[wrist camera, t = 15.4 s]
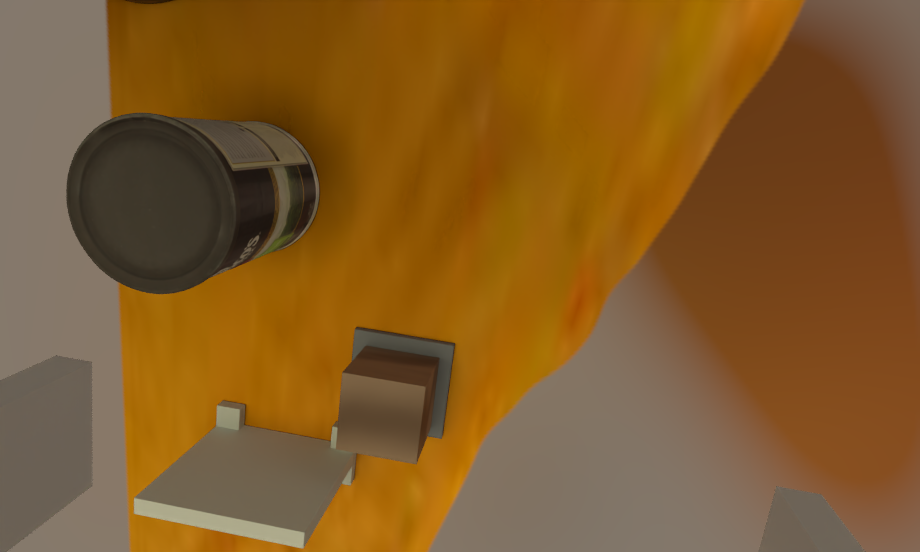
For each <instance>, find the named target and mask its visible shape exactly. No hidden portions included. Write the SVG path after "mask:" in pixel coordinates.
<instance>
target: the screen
mask: <svg viewBox="0 0 920 552" xmlns="http://www.w3.org/2000/svg"><path fill="white" fill-rule="evenodd" d="M244 420H245V404H239V403H234V402H228V401H222V402H221V403H219V404H218V405H217V420H216V427H215V428H213V429H212V430H211V431H210V432H209V433H208V434H207V435H205V436H204V437H203V438H202V439H201V440H200V441H199V442H197V443H196V444H195V445H194V446H193V447H192V448H191V449H189V450H188V451H187V452H186V453H185V454H184V455H183V456H182V457H180V458H179V459H178V460H177V461H176V462H175V463H174V464H172V465H171V466H170V467H169V468H168V469H167V470H166V471H164V472H163V473H162V474H161V475H160V476H159V477H158V478H156V479H155V480H154V481H153V482H152V483H151V484H150V485H148V486H147V487H146V488H145V489H144V490H143V491H142V492H140V493H139V494H138V495H137V496H136V497H135V498H134V514H138V515H143V516H148V517H153V518H158V519H162V520H167V521H172V522H177V523H182V524H187V525H192V526H196V527H201V528H206V529H211V530H216V531H221V532H226V533H230V534H235V535H240V536H245V537H250V538H255V539H260V540H264V541H269V542H274V543H279V544H284V545H289V546H294V547H298V548H304V546H305V545H306V543H307V541H308V540H309V538H310V536H311V535H312V533H313V531H314V529H315V528H316V526H317V524H318V523H319V521H320V519H321V518H322V516H323V514H324V512H325V511H326V509H327V507H328V506H329V504H330V502H331V501H332V499H333V497H334V496H335V494H336V492H337V490H338V489H339V487H340V485H341V484H346V485H351V484H352V482H353V480H354V474H355V464H356V454H357V453H353V452H347V451H342V450H337V449H336V440H337V429H338V422H337V421H336V422H335V424H334V425H333V426H332V436H331V441H327V440H321V439H316V438H311V437H305V436H300V435H295V434H289V433H284V432H279V431H273V430H268V429H263V428H257V427H252V426H247V425H244Z"/></svg>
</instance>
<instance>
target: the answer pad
mask: <svg viewBox="0 0 920 552" xmlns="http://www.w3.org/2000/svg"><path fill="white" fill-rule="evenodd" d="M365 346H372V347H378V348H384V349H390V350H396V351H402V352H408V353H414V354H420V355H426V356H432V357H438V358H440V359H439V367H438V375H437V383H436V391H435V399H434V407H433V415H432V423H431V428H430V431H429V433H428V436H429V437H435V438H440V439H441V438H442V435H443V428H444V420H445V413H446V406H447V398H448V391H449V383H450V376H451V368H452V361H453V354H454V346H455V343H449V342H443V341H437V340H431V339H425V338H419V337H413V336H407V335H401V334H395V333H389V332H383V331H377V330H371V329H365V328H359V327H357V328H356V329H355V334H354V344H353V354H352V361H353V360H354V359H355V357H356V356H357V355H358V354H359V353H360V352H361V350H362V349H363V348H364V347H365Z"/></svg>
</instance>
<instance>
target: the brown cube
mask: <svg viewBox="0 0 920 552" xmlns="http://www.w3.org/2000/svg"><path fill="white" fill-rule="evenodd" d="M439 359H440V358H438V357H432V356H426V355H420V354H414V353H408V352H402V351H396V350H390V349H384V348H378V347H372V346H365V347H364V348H363V349H362V350H361V352H360V353H359V354H358V355H357V356H356V357H355V359H354V360H353V361H352V362H351V363H350V364H349V366H348V367H347V368H346V369H345V370H344V371H343V372H342V383H341V395H340V406H339V417H338V429H337V440H336V449H337V450H342V451H347V452H353V453H358V454H364V455H369V456H375V457H380V458H385V459H391V460H396V461H402V462H407V463H412V464H417V461H418V459H419V456H420V454H421V451H422V448H423V446H424V443H425V441H426V438H427V436H428V433H429V431H430V428H431V423H432V415H433V407H434V399H435V391H436V383H437V375H438V367H439Z"/></svg>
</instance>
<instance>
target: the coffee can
mask: <svg viewBox="0 0 920 552" xmlns="http://www.w3.org/2000/svg"><path fill="white" fill-rule="evenodd" d="M318 203H319V182H318V177H317V173H316V169H315V167H314V164H313V162H312V160H311V158H310V156H309V154H308V153H307V151H306V150H305V149H304V147H303V146H302V145H301V144H300V143H299V142H298V141H297V140H296V139H295V138H294V137H293V136H292V135H290V134H289V133H287V132H286V131H284V130H283V129H281V128H279V127H277V126H275V125H272V124H268V123H263V122H256V121H247V122H237V121H220V120H204V119H190V118H175V117H167V116H163V115H158V114H151V113H132V114H126V115H121V116H118V117H115V118H113V119H110V120H108V121H106V122H104V123H103V124H101V125H100V126H98V127H97V128H95V129H94V130H93V131H92V132H91V133H90V134H89V135H88V136H87V137H86V138H85V139H84V141H83V142H82V143H81V145H80V146H79V148H78V149H77V151H76V153H75V155H74V157H73V160H72V163H71V166H70V170H69V173H68V180H67V207H68V213H69V217H70V221H71V224H72V227H73V230H74V232H75V234H76V236H77V238H78V240H79V242H80V244H81V245H82V247H83V248H84V250H85V251H86V253H87V254H88V256H89V257H90V258H91V259H92V261H93V262H94V263H95V264H96V265H97V266H98V267H99V268H100V269H101V270H102V271H103V272H105V273H106V274H107V275H108V276H110V277H111V278H113V279H114V280H116V281H118V282H120V283H121V284H123V285H125V286H128V287H130V288H133V289H136V290H139V291H142V292H146V293H154V294H169V293H176V292H180V291H184V290H187V289H190V288H192V287H194V286H196V285H198V284H200V283H202V282H204V281H205V280H207V279H208V278H210V277H213V276H215V275H217V274H220V273H222V272H225V271H227V270H229V269H232V268H234V267H237V266H239V265H242V264H244V263H246V262H249V261H251V260H253V259H256V258H258V257H261V256H263V255H265V254H268V253H270V252H273V251H277V250H281V249H284V248H286V247H288V246H290V245H291V244H293V243H294V242H296V241H297V240H298V239H299V238H300V237H301V236H302V235H303V234H304V233H305V232H306V231H307V229H308V228H309V226H310V225H311V223H312V221H313V219H314V217H315V214H316V212H317V208H318Z"/></svg>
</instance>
